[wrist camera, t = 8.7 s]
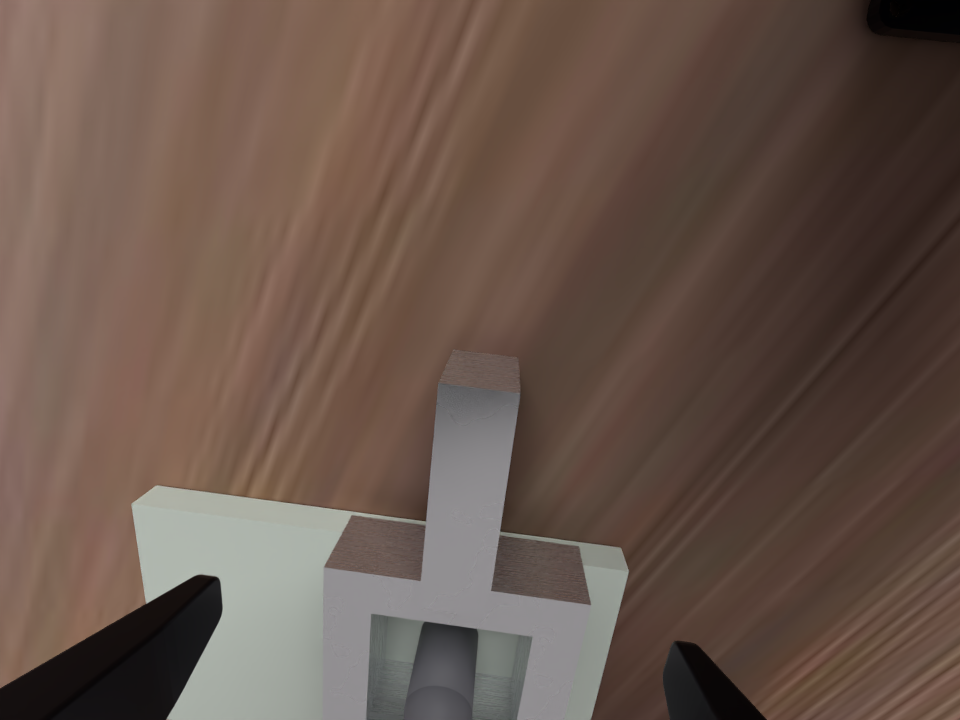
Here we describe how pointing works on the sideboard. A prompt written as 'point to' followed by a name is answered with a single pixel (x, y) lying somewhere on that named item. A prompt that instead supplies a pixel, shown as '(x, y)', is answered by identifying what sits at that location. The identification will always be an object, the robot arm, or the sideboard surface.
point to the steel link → (456, 570)
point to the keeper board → (299, 611)
